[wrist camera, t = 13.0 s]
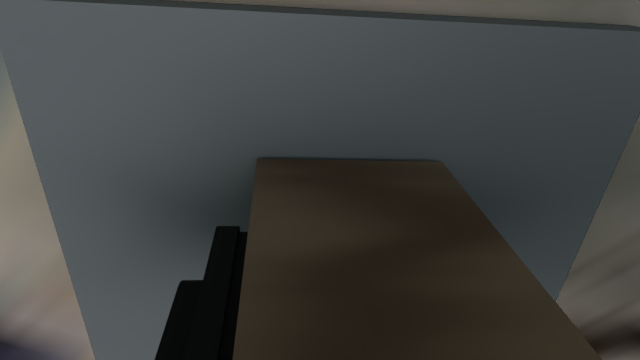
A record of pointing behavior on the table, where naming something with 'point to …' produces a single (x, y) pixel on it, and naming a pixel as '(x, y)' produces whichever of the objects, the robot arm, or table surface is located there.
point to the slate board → (298, 127)
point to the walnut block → (386, 271)
